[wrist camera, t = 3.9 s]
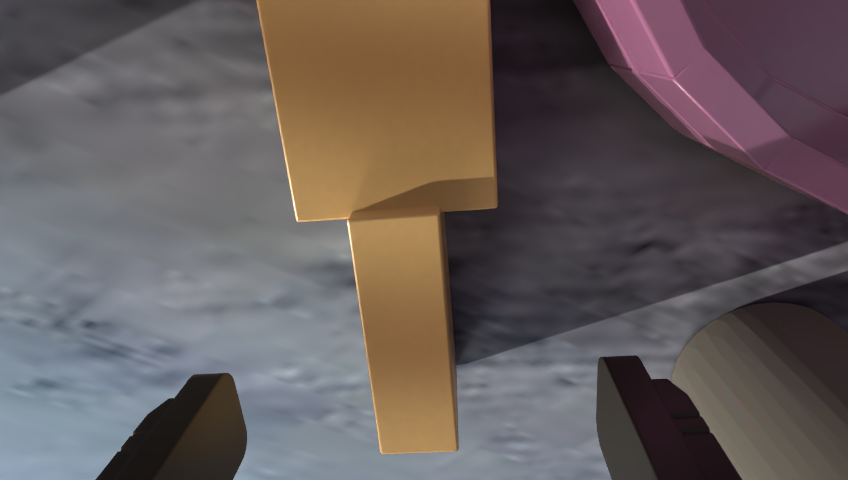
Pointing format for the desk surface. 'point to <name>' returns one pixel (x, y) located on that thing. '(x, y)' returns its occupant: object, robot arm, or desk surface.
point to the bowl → (742, 80)
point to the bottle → (772, 390)
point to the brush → (391, 175)
